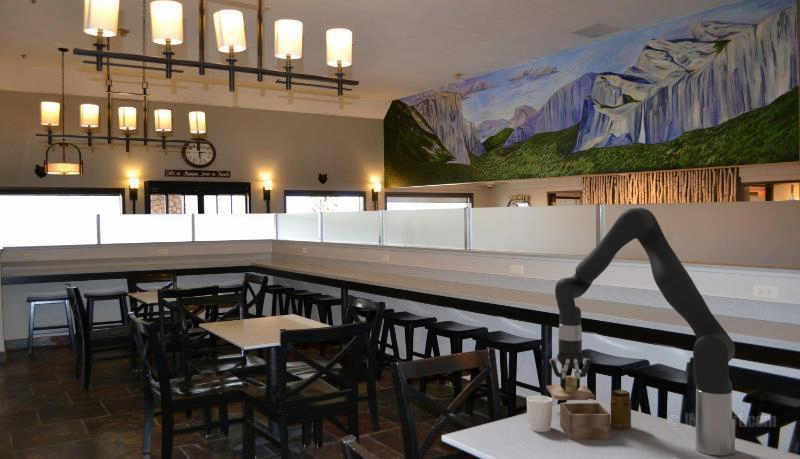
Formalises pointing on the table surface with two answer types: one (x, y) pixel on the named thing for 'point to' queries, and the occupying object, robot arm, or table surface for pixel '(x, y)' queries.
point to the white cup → (539, 413)
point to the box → (584, 421)
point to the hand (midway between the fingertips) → (570, 389)
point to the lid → (570, 390)
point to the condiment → (620, 410)
